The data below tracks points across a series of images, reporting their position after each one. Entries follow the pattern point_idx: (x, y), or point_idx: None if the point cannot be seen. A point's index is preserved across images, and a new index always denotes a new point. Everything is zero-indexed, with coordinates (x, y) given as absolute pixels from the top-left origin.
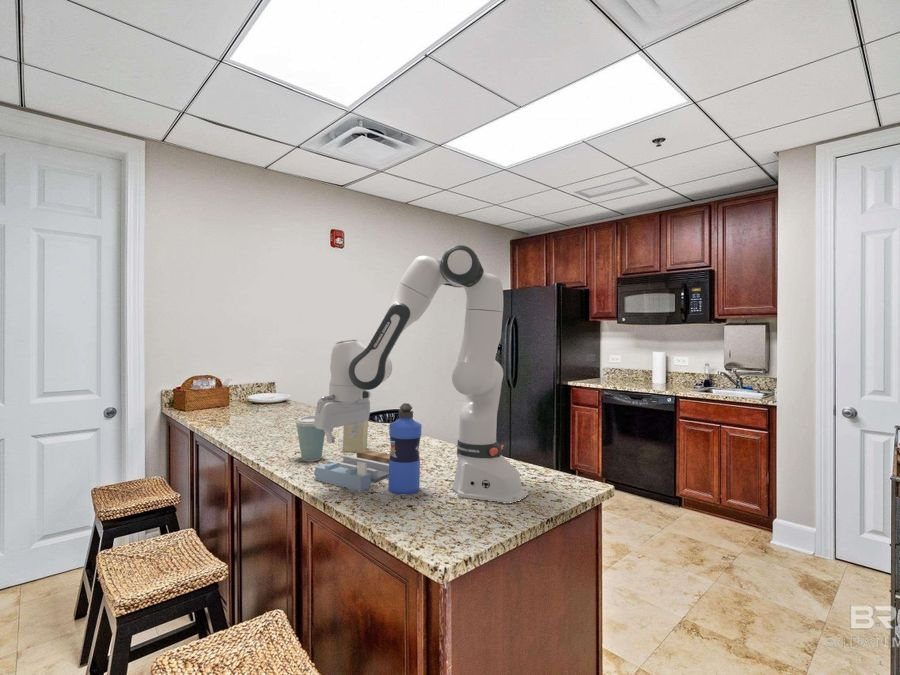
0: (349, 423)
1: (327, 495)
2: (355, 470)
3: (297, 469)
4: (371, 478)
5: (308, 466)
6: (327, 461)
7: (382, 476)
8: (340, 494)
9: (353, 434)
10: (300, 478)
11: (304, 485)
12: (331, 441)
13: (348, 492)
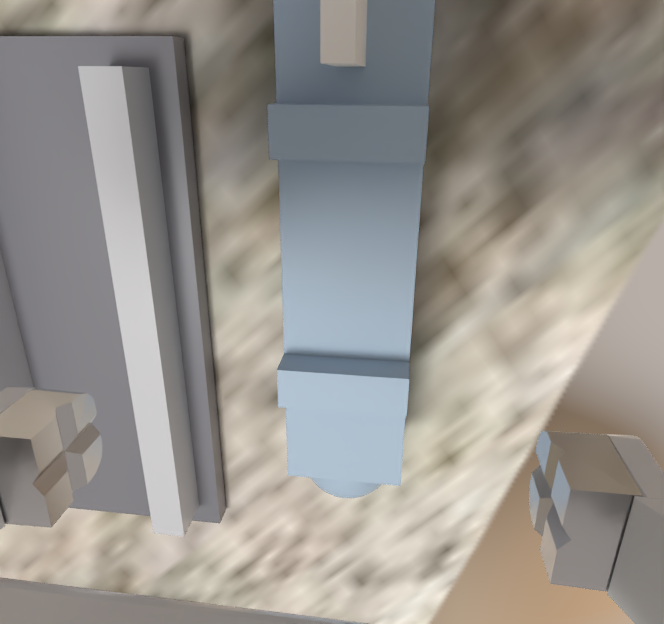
0: (94, 608)
1: (640, 137)
2: (346, 105)
3: (304, 613)
4: (176, 75)
5: (226, 602)
6: (185, 531)
7: (71, 37)
8: (574, 64)
9: (55, 421)
10: (422, 511)
11: (523, 413)
12: (639, 446)
13: (500, 43)
